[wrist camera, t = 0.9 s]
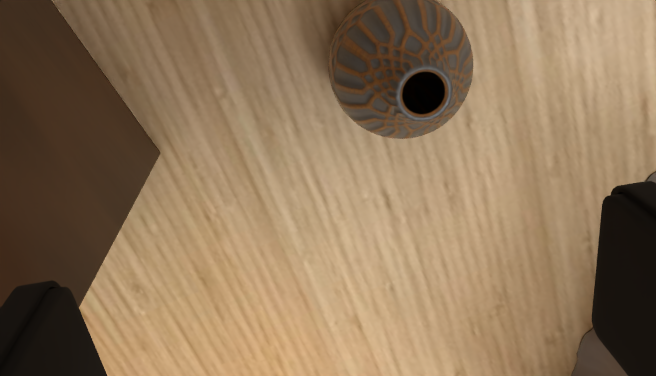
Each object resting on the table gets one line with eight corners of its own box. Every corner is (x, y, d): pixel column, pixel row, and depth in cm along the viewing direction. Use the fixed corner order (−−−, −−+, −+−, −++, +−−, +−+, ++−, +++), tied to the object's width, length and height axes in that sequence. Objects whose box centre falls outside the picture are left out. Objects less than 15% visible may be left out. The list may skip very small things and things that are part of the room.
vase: (410, 129, 32) (453, 194, 25) (303, 83, 31) (312, 136, 23) (470, 19, 30) (539, 50, 22) (357, -38, 28) (388, -27, 20)
